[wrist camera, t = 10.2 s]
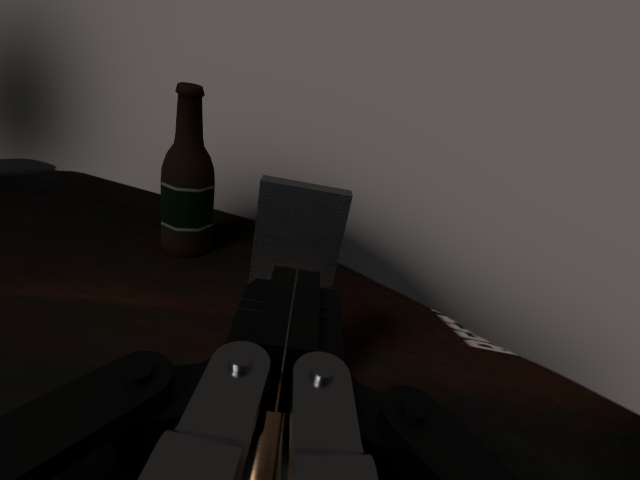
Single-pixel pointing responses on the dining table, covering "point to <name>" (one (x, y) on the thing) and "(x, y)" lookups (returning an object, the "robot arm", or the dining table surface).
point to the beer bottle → (187, 181)
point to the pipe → (269, 445)
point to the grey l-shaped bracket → (298, 230)
